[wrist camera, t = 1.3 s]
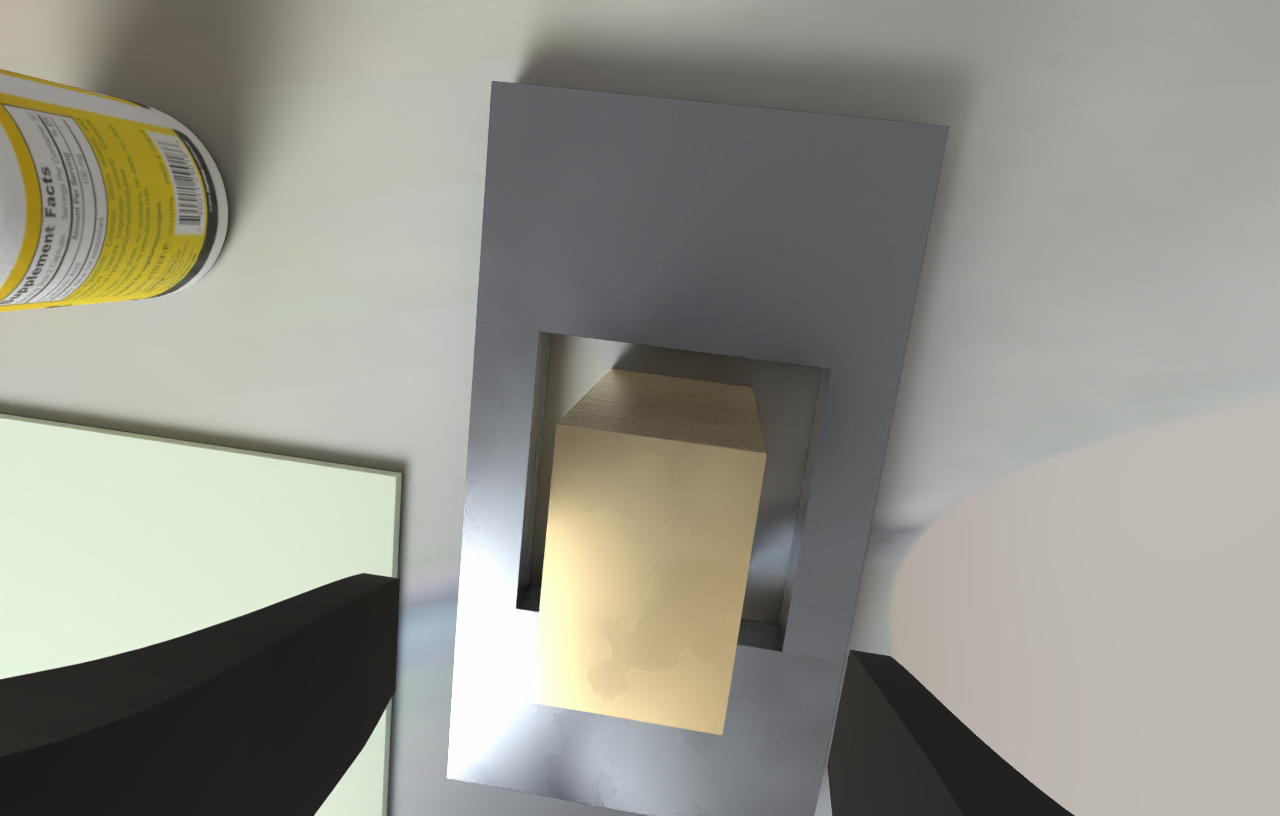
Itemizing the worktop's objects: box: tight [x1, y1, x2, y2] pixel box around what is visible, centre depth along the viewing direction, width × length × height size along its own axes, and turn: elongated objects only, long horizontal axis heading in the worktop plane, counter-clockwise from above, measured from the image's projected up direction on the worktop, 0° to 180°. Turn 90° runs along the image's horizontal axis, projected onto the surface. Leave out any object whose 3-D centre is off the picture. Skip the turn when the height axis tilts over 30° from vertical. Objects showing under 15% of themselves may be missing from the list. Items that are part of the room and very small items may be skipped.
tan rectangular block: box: [531, 369, 767, 735], centre depth 18 cm, size 6×4×7 cm, turn 174°
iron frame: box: [447, 81, 949, 816], centre depth 20 cm, size 20×11×2 cm, turn 174°
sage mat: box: [0, 414, 402, 816], centre depth 24 cm, size 16×14×1 cm
